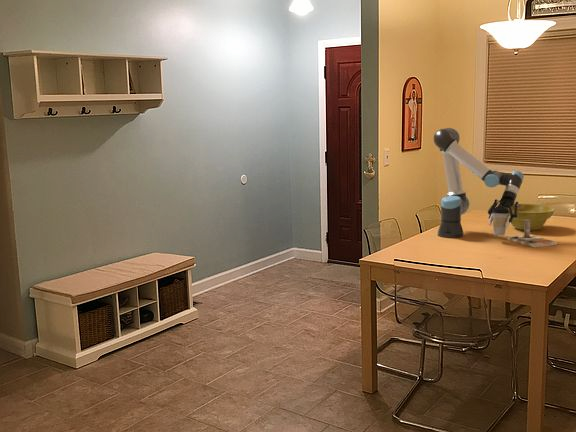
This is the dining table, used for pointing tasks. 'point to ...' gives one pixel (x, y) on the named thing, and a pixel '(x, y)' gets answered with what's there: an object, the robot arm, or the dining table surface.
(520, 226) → the planter bowl
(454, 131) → the robot arm
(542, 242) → the control board
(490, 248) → the dining table surface
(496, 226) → the coffee cup
